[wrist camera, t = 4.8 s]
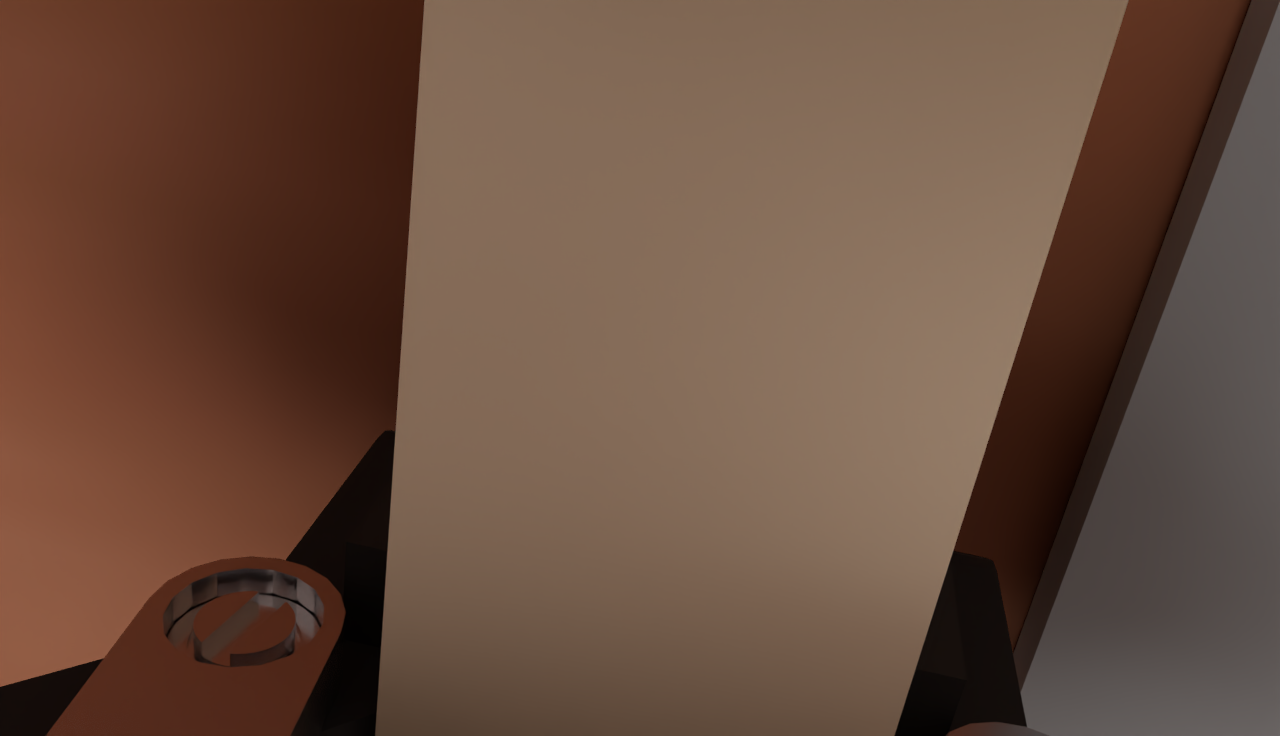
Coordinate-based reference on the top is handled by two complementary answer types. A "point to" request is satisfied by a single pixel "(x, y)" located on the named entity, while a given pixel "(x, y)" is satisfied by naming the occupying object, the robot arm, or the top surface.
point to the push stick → (709, 349)
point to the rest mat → (1183, 465)
